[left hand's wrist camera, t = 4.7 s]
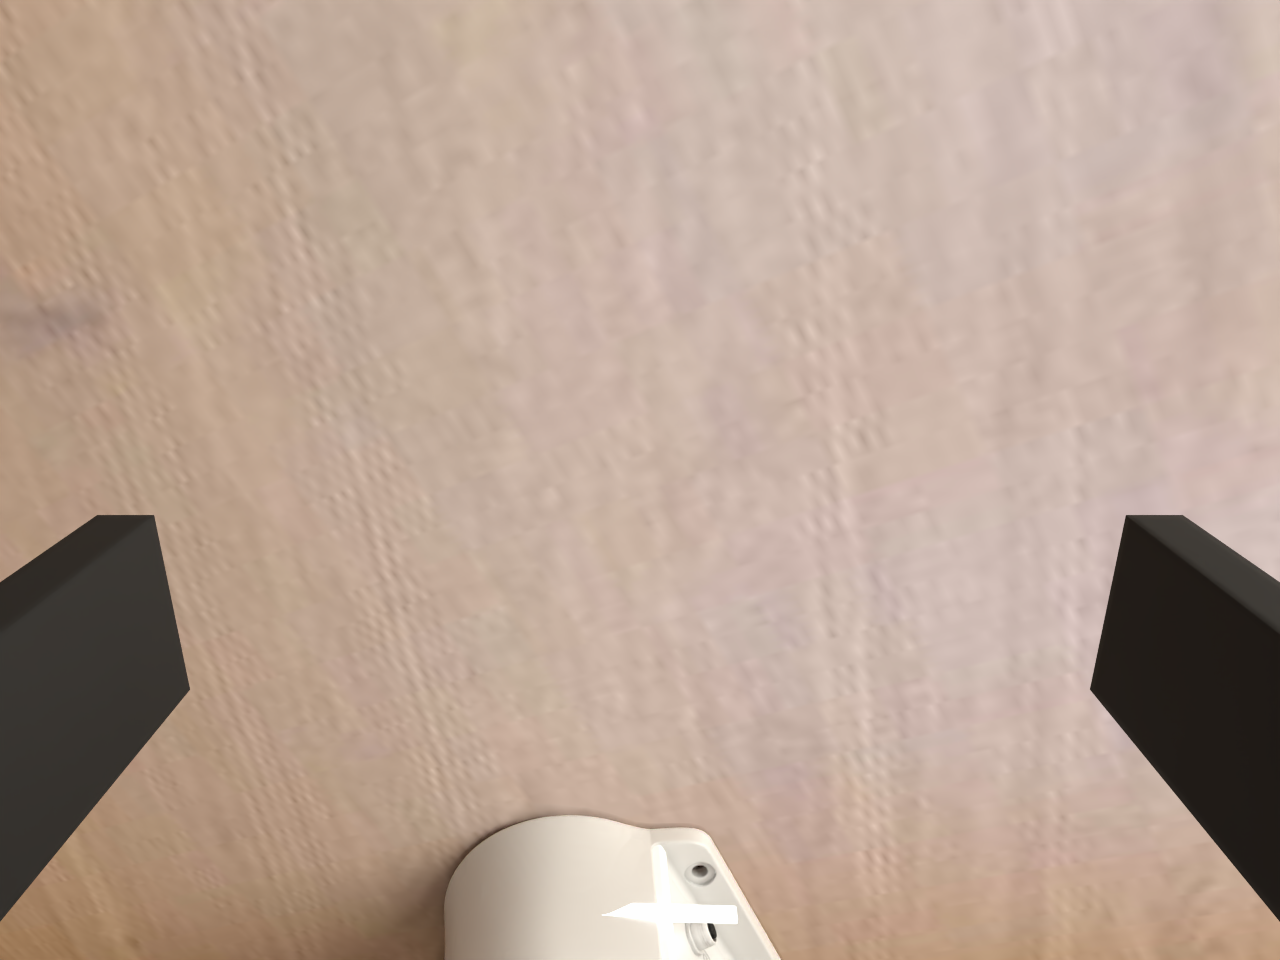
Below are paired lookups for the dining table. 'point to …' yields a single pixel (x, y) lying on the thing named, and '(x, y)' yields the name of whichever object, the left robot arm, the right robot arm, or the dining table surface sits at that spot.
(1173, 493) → the dining table surface
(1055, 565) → the dining table surface
